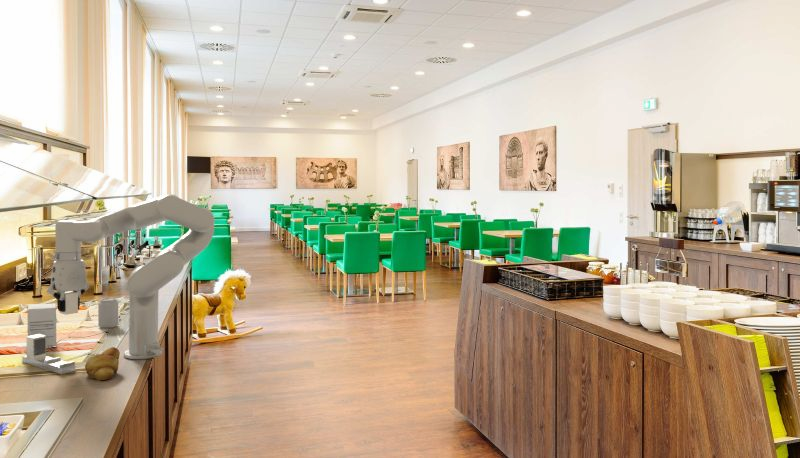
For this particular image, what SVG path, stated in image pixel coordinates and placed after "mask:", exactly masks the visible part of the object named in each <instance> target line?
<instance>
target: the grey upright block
mask: <svg viewBox="0 0 800 458" xmlns="http://www.w3.org/2000/svg"><path fill="white" fill-rule="evenodd" d="M97 312H98V313H97V314H98V315H97V317H98V327H99V328H100V327H101V328H100V329H103V328H108V329H115V328H116V327H118V325H119V301H118V299H117V298H116V297H105V298H104V297H103V298H100V301H98V311H97ZM108 329H107V330H108Z"/></svg>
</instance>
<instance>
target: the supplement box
mask: <svg viewBox="0 0 800 458" xmlns="http://www.w3.org/2000/svg"><path fill="white" fill-rule="evenodd" d="M36 334H41V335H45V336H46V349H48V348H47V347H53V346H56V347H57V304H56V302H52V303H34V304H28V306H27V336H31V335H36Z"/></svg>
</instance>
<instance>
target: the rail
mask: <svg viewBox="0 0 800 458" xmlns="http://www.w3.org/2000/svg"><path fill="white" fill-rule="evenodd" d="M46 349H47V348H46V336H45V335H41V334H36V335H31V336H28V335H26V355H22V363H24V364H28V365H30V366H34V367H37V368H40V369H43V370H46V371H49V372H53V373H56V374H59V375H64V374H68V373H71V372H75V371H76V361H74V360H73V361H64V360H62V359H61V358H62V357H61V356H58V357H51V356H49V355H48V356H47V351H46Z"/></svg>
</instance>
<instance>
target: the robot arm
mask: <svg viewBox="0 0 800 458" xmlns="http://www.w3.org/2000/svg"><path fill="white" fill-rule="evenodd" d="M215 220H216V219H215V215H214V214H213V212H212V211H211V210H210V209H208V208H207V207H202V206H199V205H197V204H194V203H192V202H189V201H187V200H184V199H182V198H180V197H179V196H177V195H176V194H170V193H169V194H165V195H161V196H159V197H155V198H151V199H150V200H149V199H148V200H145V201H143V202H140V203H136V204H133V205H130V206H126V208H124V209H121V210H118V211H115V212H112V213H109V214H105V215H103V216H99V217H96V218H93V219H89V220H87V221H79V220H74V219H62V220H58V221H56V222H55V231H54V233H55V235H54V236H55V251H54V254H51V258H52V259H54V261H53V263H52V267H51V276H50V285H49V287H48V288H47V290H46V294H49V295H51V296H52V297H54V299H56V301H57V304H56V309H57V310H58V312H60V311H61V312H65V300H64V294H65V292H68V291H73V292H78V310H80V307H81V301H80V300H81V298H82V296H83V294H84V293H85V292H86V291H87V290H88V289H89V288H90V287H91V286H90V285H89V283H88V280H87V279H88V277H87V270H86V269H87V268H86V265H85V261H84V259H82V243H90V244H91V243H98V242H100V241H101V240H103V239H106V238H108V237H111V236H114V235H117V234H120V233H124V232H127V231H136V230H140V229H143V228H144V229H145V228H147V227H149V226H153V225H156V224H159V223H162V222H166V221H170V222H172V223H175V224H176V225H179V226H182V227H184V228H186V229H187V228H188V229H189V230H188V231H186V233H185V234H184V235H182V236H180V238H179V239H177V240H176V241H174V242H173V243H172V244H170V245H169V246H167V247H166V248H164V249H161V251H159V252H158V253H157V254H156V256H155V257H154V258H152V259H151V260H150V261H148V262H147V263H146V264H144V265H142V266H141V265H140V266H138V267H136V268H134V269H133V270H132V272H131V273H130V274H129V276H128V279H127V281H126V288H127V290H128V292H129V293H128V349H127V350H125V351H124V353H123V356H124V358H127V359H129V360H147V359H148V360H149V359H153V358H157V357H159V356H161V355H163V353H164V352H163V351H164V348H163V347H162V346H160V342H159V292H160V289H162V288H164V287H165V286H166V285H167V284H169V283H170V282H171V281H172V280H175V278H177V277H178V276H179V275H180V274H181V273H182V271H183V270H184V267H185V266H186V264H188V263H190V261H192V260H193V259H195V258H196V257H197V256H198V255H200V253H202V252H203V251H204V250H205V249H206V248H207V247H208V246H209V244H210V243H211V241H212V239H213V236H214V233H215V222H216V221H215Z"/></svg>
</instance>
